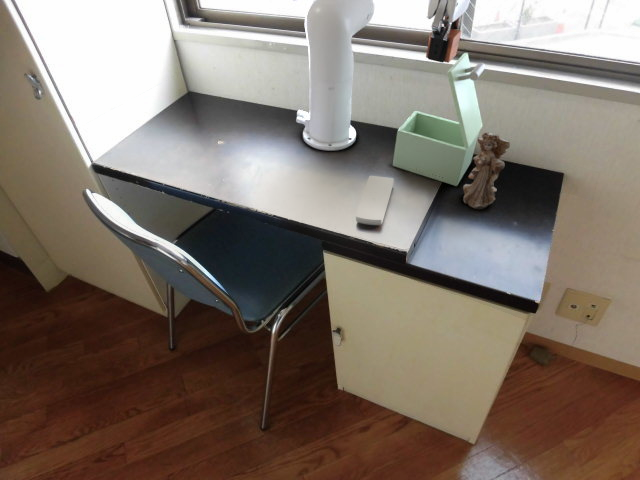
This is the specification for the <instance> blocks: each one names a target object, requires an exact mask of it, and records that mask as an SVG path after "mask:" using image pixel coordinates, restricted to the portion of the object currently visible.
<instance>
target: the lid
mask: <svg viewBox="0 0 640 480" xmlns="http://www.w3.org/2000/svg"><path fill="white" fill-rule="evenodd" d="M485 69H486V65H485V63H484V62H478V63H477V64H476V65H475V66H471V62H470V58H469V53H468V52H464V53H463V54H462V55H461V56H459V58H458V59H457V61H456V62H455V63H454V64H453V65H452V66H451V67H450V69H448V70H447V72H446V73H447V78H448V82H449V86H450V91H451V94H452V100H453V103H454V108H455V112H456V117H457V120H458V121H457V122H459V125H460V130H461V134H462V138H463V143H464V147H465V148H469V147H470V145H471V144H472V142H473V140H474V139H475V137H476V136H477V134H478V132H479V133H480V131H481V130H482V128H483V126H484V125H483V121H482V116H481V111H480V107H479V101H478V96H477V92H476V87H475V81H477V80H478V79H479V77H480V76H481V74H482V73H483V72H484V71H485Z"/></svg>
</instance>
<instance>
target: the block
mask: <svg viewBox="0 0 640 480" xmlns="http://www.w3.org/2000/svg"><path fill="white" fill-rule="evenodd" d="M443 27H444V26H443ZM444 28H445V29H446V27H444ZM431 34H432V31H431V32H430V33H429V36H428V43H427V50H426V55H425V58H426V59H428V53H429V47H430V41H431ZM461 34H462V30H460V29H458V30H455V29H450V32H449V36H448V39H449V45H448V49H447V54H446V59H445V61H444V62H443V63H447V64H448V63H450V62H451V61H452V60H453V59H454V58H455V57H456V55H457V52H458V48H459V42H460V39H461Z"/></svg>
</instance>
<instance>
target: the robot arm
mask: <svg viewBox="0 0 640 480" xmlns="http://www.w3.org/2000/svg"><path fill="white" fill-rule="evenodd" d="M288 1H289V2H291V3H301V2H304V1H305V0H288ZM470 2H471V0H428V4H427V8H426V14H425V16H426V18H427V20H431V19H432V18H433V20H432V23H431V32H432V34H431V41H430V47H429V53H428V58H427V59H428V60H430V61H434V62H437V63H445V62H444V61H445V59H446V54H447V49H448V45H449V39H448V36H449V32H450V29H455V30H460V27H461V23H462V16H463V15H464V13H465V12H466V11H467V10H468V8H469V5H470ZM374 14H375V0H313V1H312V2H311V3H310V5H309V6H308V8H307V11H306V13H305V17H304V29H305V35H306V41H307V47H308V74H309V75H308V76H309V79H308V81H309V88H308V89H309V90H308V91H309V92H308V95H309V99H308V100H309V103H308V104H309V107H308V109H309V111H308V112H307V111H304V110H302V109H298V110H297V112H296V119H295V123H298V124H300V125H303V126H305V127H304V128H303V130H302V139H303V141H304V142H305V143H306V144H307V145H308V146H310V147H312V148H314V149H316V150H321V151H329V152H331V151H332V152H333V151H340V150H344V149H346V148H349V147H350V146H352V145H353V144H354V143H355V142H356V138H357V132H356V129H355V128H354V126H352V124H351V121H352V120H351V117H352V104H353V89H354V87H353V86H354V73H355V72H354V70H355V58H354V56H355V55H354V51H353V46H352V38H353V36H355V35H356V34H357V33H358V32H359V31H360V30H361V31H362V29H363V28H365V27H367V25H368V24H369V23H370V22H371V20H372V18H373V16H374ZM444 27H445V28H446V29H445V28H444Z"/></svg>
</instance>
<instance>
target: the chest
mask: <svg viewBox="0 0 640 480" xmlns="http://www.w3.org/2000/svg"><path fill="white" fill-rule="evenodd" d="M479 134H480V131H479V132H478V134H477V136H476V137H475V139H474V140H473V142H472V144H471V145H470V147H469V148H465V147H464V143H463V138H462V134H461V130H460V125H459V121H455V120H451V119H448V118H444V117H441V116H437V115H433V114H429V113H426V112H422V111H418V110H414V111H413V112H412V114H411V115H410V116H409V117H408V118H407V119H406V120H405V121H404V123H402V125H401V126H400V127H399V128H398V129H397V132H396V137H395V138H396V139H395V145H394V153H393V159H392V167H395V168H398V169H401V170H405V171H407V172H410V173H414V174H417V175H420V176H423V177H426V178H429V179H433V180H436V181H438V182H442V183H446V184H449V185H451V186H454V187H457V186H458V185H459V183H460V182H461V180H462V179H463V177H464V175H465V174H466V172H467V170H468V168H469V166H470V165H471V163H472V161H473V156H474V154H475V153H474V152H475V148H476V145H477V143H478V140H477V138H478V137H479V136H480V135H479ZM416 169H417V170H416ZM419 170H420V171H419ZM432 174H433V175H432ZM435 175H436V176H435ZM439 176H440V177H439ZM442 177H443V178H442Z"/></svg>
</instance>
